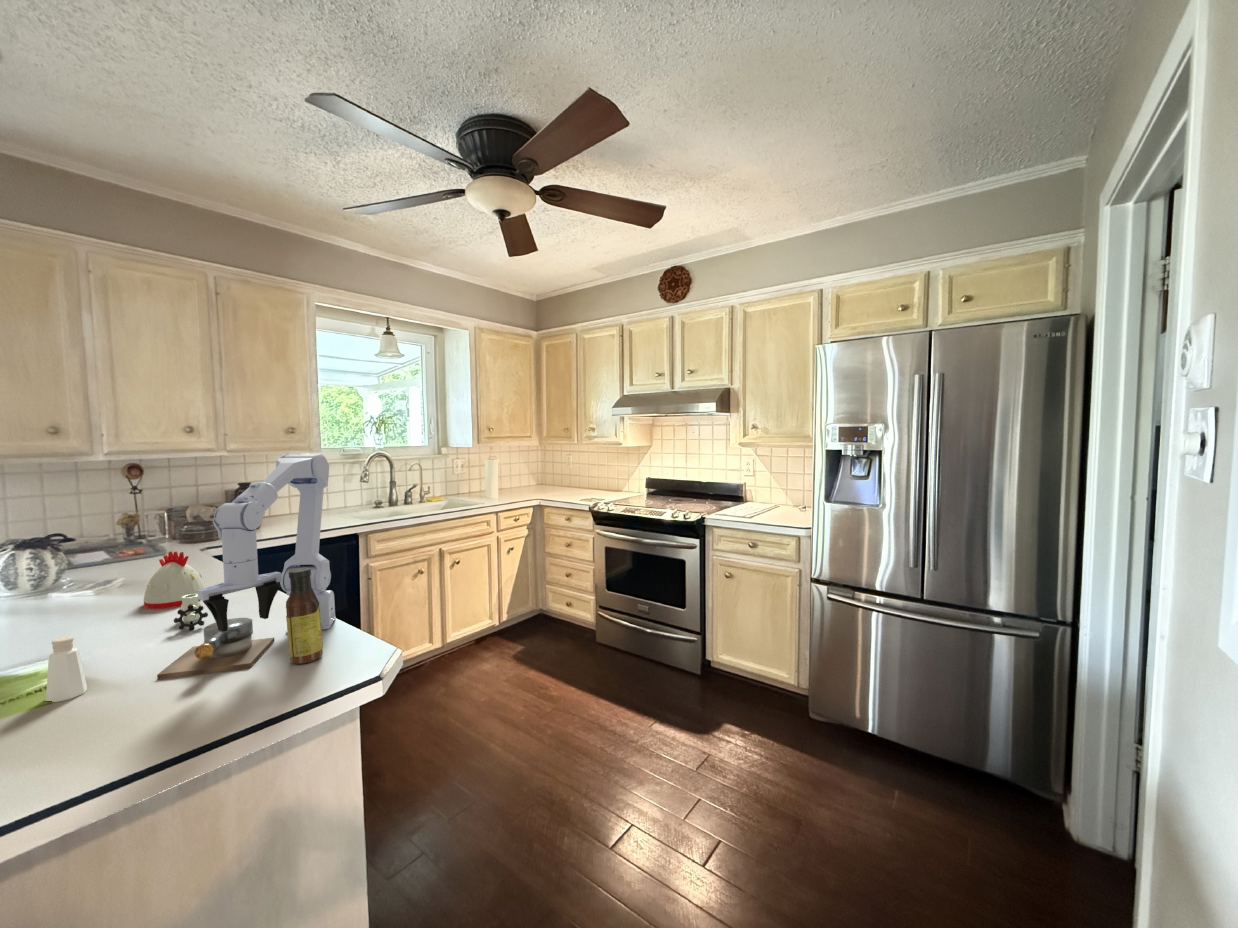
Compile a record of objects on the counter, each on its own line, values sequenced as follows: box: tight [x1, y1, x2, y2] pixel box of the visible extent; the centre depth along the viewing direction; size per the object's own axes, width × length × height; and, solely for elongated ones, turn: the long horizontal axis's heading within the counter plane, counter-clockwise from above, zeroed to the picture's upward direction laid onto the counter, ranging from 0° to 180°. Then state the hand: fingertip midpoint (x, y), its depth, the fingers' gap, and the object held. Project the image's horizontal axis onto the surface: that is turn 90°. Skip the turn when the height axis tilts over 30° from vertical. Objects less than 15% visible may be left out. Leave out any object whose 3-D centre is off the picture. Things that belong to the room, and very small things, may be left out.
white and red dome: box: [143, 551, 206, 610], centre depth 149 cm, size 14×14×15 cm
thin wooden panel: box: [156, 634, 275, 680], centre depth 109 cm, size 16×14×4 cm
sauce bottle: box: [285, 568, 324, 665], centre depth 109 cm, size 6×6×20 cm
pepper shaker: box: [45, 635, 88, 703], centre depth 94 cm, size 5×5×11 cm
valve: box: [173, 594, 209, 632], centre depth 130 cm, size 7×7×12 cm
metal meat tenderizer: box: [194, 617, 254, 660], centre depth 108 cm, size 16×9×3 cm, turn 17°
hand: (244, 623), depth 105 cm, fingers open, 7 cm apart
